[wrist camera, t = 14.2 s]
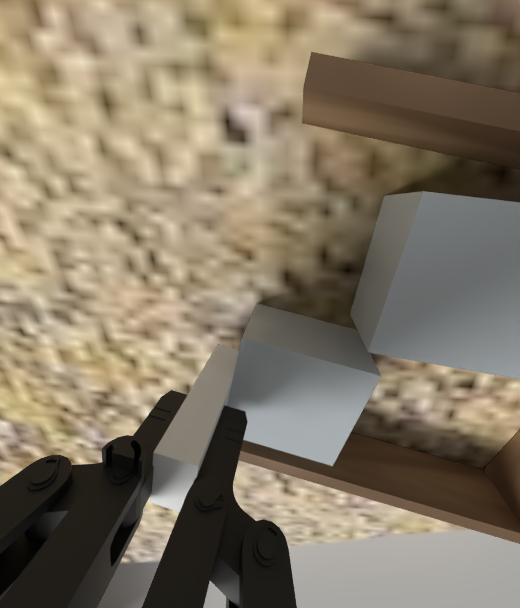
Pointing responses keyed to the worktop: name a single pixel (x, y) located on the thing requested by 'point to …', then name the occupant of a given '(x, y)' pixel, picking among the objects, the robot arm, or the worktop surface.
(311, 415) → the tile
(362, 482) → the frame
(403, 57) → the worktop surface
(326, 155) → the worktop surface
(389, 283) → the light grey square block
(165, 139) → the worktop surface
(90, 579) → the robot arm
